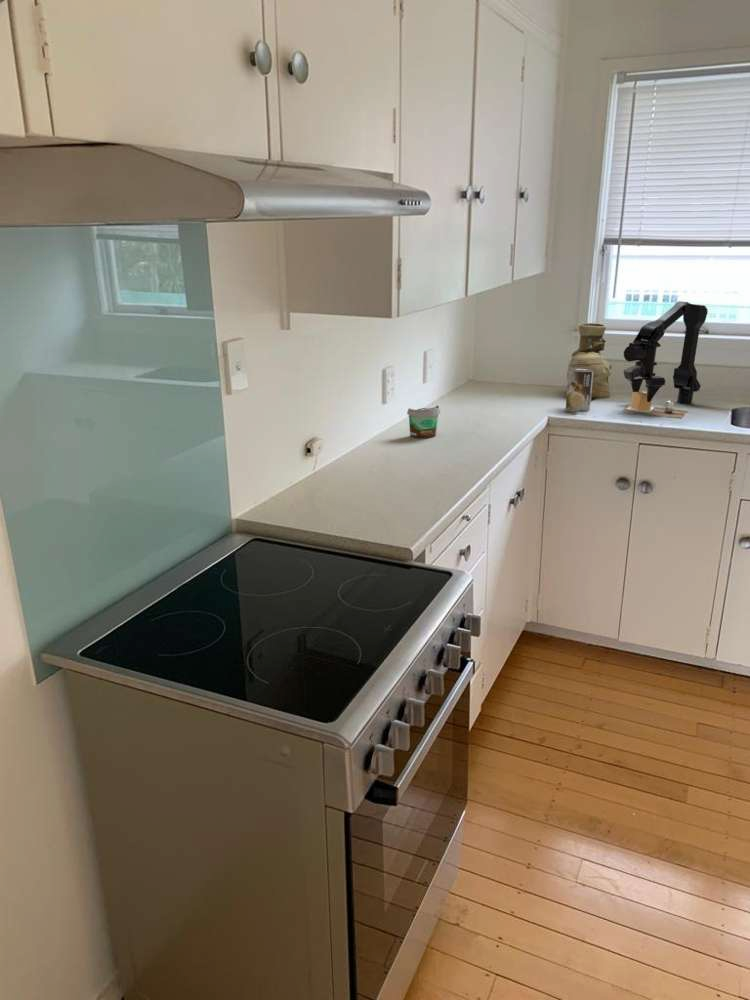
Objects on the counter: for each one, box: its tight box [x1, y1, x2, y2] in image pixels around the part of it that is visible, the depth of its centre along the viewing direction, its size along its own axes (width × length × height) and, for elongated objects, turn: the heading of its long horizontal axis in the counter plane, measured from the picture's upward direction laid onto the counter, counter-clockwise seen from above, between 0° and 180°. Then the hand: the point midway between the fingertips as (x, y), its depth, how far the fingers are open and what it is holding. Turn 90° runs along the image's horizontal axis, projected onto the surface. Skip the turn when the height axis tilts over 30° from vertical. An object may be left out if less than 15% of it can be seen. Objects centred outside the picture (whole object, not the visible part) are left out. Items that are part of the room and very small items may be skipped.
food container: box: [406, 404, 441, 440], centre depth 255 cm, size 12×6×10 cm, turn 117°
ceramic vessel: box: [566, 322, 612, 400], centre depth 314 cm, size 19×21×30 cm
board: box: [621, 403, 689, 420], centre depth 290 cm, size 14×22×1 cm, turn 59°
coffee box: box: [564, 368, 594, 413], centre depth 291 cm, size 9×6×16 cm
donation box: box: [630, 391, 652, 410], centre depth 291 cm, size 5×5×6 cm
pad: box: [626, 404, 656, 413], centre depth 292 cm, size 9×9×1 cm
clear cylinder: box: [664, 399, 675, 414], centre depth 287 cm, size 3×3×4 cm
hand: (641, 399), depth 291 cm, fingers open, 9 cm apart
